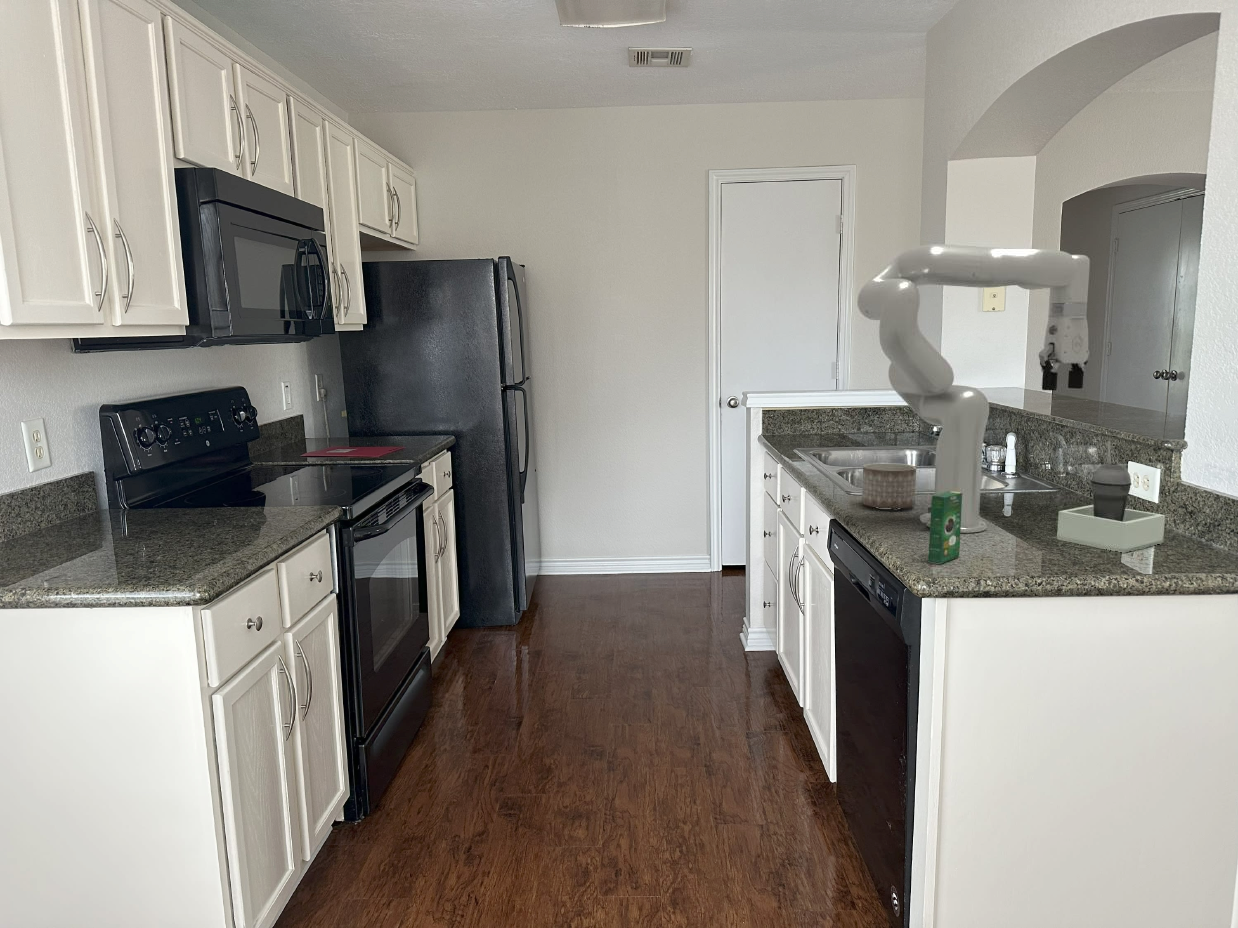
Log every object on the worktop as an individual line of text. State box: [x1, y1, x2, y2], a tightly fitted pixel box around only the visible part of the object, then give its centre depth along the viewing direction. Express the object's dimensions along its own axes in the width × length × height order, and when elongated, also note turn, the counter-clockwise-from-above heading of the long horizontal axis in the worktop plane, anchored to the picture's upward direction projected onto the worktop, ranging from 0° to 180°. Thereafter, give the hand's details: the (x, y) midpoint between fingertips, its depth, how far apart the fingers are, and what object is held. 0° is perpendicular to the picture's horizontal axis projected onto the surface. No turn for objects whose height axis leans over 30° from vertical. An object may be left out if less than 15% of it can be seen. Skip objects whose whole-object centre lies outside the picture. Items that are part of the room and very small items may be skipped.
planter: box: [861, 462, 917, 509], centre depth 215 cm, size 13×13×10 cm
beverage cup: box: [1090, 440, 1133, 522], centre depth 176 cm, size 7×7×20 cm
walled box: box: [1056, 504, 1166, 554], centre depth 177 cm, size 14×14×6 cm
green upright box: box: [927, 491, 962, 565], centre depth 164 cm, size 8×3×13 cm, turn 134°
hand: (1062, 389), depth 193 cm, fingers open, 9 cm apart
